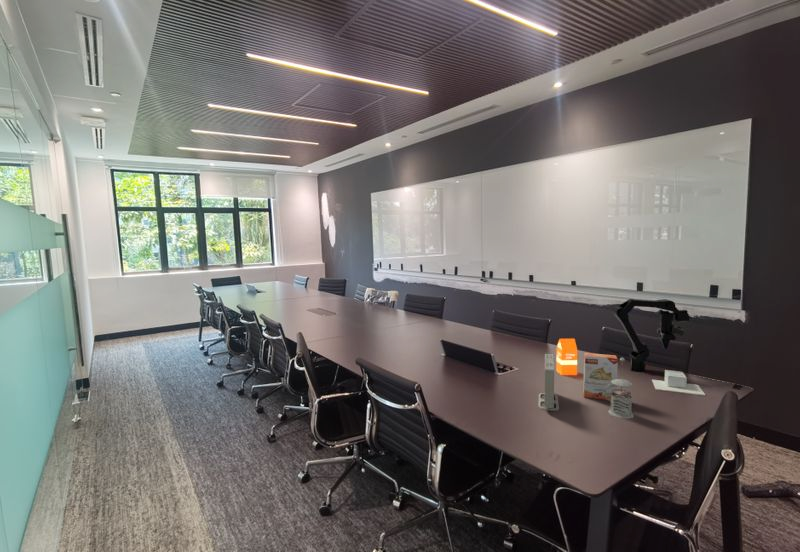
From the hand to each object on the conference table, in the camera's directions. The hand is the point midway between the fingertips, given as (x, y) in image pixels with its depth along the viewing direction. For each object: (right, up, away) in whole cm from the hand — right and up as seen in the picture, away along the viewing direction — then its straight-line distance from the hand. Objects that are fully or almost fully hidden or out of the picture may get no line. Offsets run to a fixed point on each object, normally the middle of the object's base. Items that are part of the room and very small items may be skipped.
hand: (665, 348), depth 222 cm
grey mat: (-11, -15, -24) cm, 31 cm away
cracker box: (-55, -17, -34) cm, 67 cm away
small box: (-7, -11, -16) cm, 21 cm away
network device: (-82, -18, -38) cm, 92 cm away
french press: (-56, -19, -52) cm, 78 cm away
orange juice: (-56, -14, +1) cm, 58 cm away
